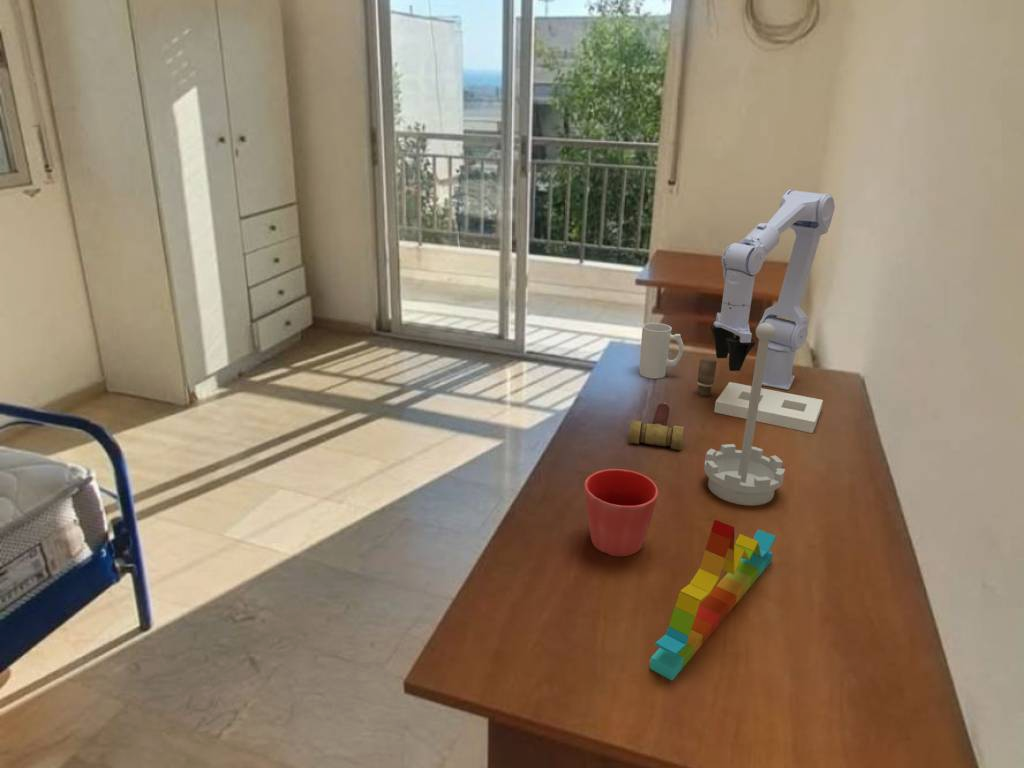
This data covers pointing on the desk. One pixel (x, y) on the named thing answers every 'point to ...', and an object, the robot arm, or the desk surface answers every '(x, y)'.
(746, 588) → the chart
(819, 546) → the desk surface
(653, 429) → the gavel
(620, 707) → the desk surface
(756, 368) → the flag stand
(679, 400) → the desk surface
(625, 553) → the flower pot
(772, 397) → the board
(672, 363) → the mug
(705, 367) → the peg
